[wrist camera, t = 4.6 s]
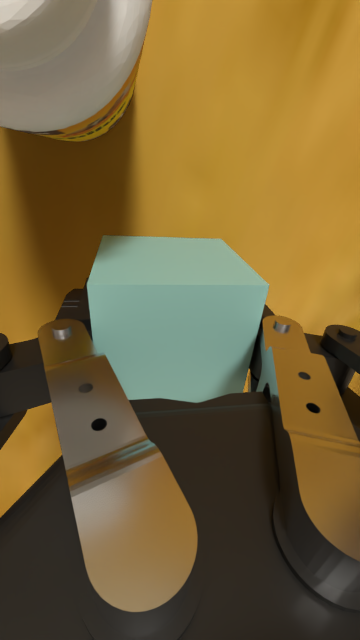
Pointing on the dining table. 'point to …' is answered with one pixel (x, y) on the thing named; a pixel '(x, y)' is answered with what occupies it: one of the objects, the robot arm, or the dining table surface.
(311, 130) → the dining table surface
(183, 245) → the teal block
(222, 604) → the robot arm
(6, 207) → the dining table surface
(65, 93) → the supplement bottle
